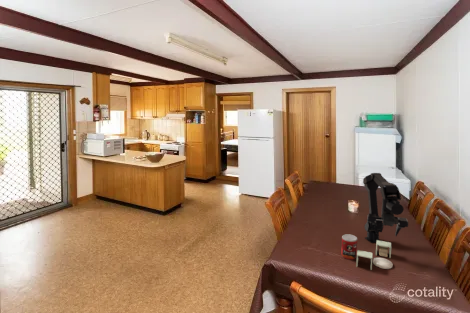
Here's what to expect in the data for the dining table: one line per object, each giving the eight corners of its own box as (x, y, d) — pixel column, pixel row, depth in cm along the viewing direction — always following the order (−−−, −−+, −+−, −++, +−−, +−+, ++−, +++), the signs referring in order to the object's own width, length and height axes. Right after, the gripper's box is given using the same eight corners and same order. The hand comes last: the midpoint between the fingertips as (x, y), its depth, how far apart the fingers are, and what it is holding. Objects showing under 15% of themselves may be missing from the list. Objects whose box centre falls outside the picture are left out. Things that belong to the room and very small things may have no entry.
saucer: (368, 260, 141) (369, 258, 140) (383, 258, 142) (383, 256, 142) (381, 270, 132) (381, 268, 132) (396, 267, 134) (397, 265, 133)
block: (378, 252, 149) (379, 245, 148) (387, 253, 147) (387, 247, 146) (378, 255, 145) (379, 248, 145) (387, 257, 143) (387, 250, 143)
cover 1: (356, 261, 140) (357, 249, 139) (371, 264, 137) (372, 252, 136) (356, 266, 135) (356, 254, 134) (371, 270, 132) (372, 258, 131)
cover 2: (375, 250, 150) (376, 240, 149) (390, 253, 147) (390, 242, 146) (375, 255, 145) (376, 244, 144) (390, 258, 142) (391, 247, 141)
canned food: (341, 258, 143) (342, 239, 142) (341, 251, 151) (342, 233, 149) (356, 261, 140) (357, 241, 139) (356, 253, 148) (356, 235, 146)
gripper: (368, 210, 138) (367, 238, 141) (411, 215, 130) (408, 244, 133) (368, 203, 148) (366, 229, 151) (407, 207, 140) (405, 235, 143)
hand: (385, 234), depth 144 cm, fingers open, 9 cm apart
